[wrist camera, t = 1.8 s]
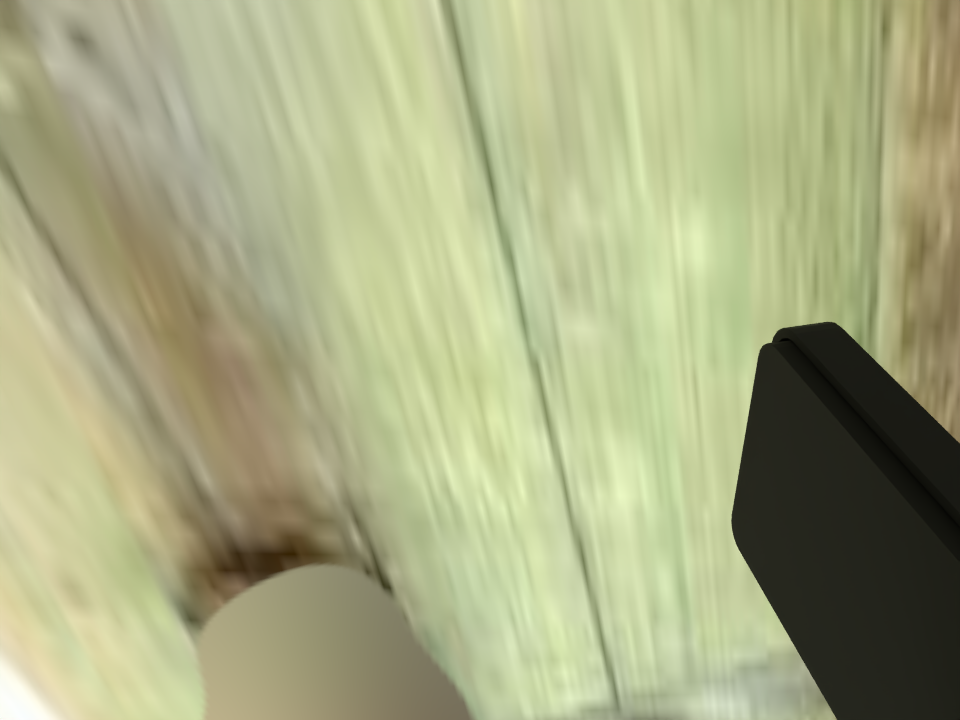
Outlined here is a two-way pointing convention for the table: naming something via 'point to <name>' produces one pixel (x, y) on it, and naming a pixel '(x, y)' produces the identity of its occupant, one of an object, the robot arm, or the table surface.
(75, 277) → the table surface
